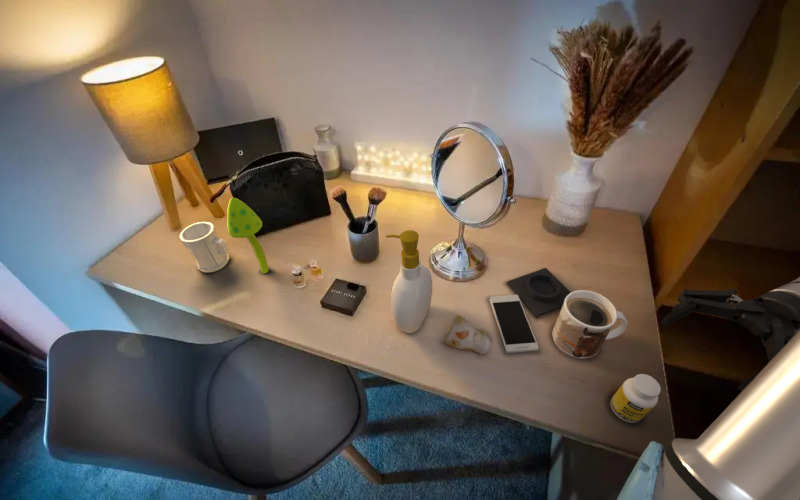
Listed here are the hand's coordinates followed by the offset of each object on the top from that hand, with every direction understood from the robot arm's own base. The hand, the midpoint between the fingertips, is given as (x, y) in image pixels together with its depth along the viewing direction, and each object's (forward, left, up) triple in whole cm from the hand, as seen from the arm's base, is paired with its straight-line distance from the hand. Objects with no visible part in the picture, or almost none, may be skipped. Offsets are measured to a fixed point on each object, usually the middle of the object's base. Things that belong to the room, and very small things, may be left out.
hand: (701, 350), depth 59 cm
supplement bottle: (0, +10, -14) cm, 17 cm away
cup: (+78, +84, -14) cm, 115 cm away
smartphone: (+25, +18, -14) cm, 34 cm away
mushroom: (+68, +71, -14) cm, 99 cm away
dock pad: (+30, +6, -14) cm, 34 cm away
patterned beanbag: (+24, +30, -14) cm, 41 cm away
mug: (+15, +7, -14) cm, 22 cm away
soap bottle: (+36, +39, -14) cm, 55 cm away
